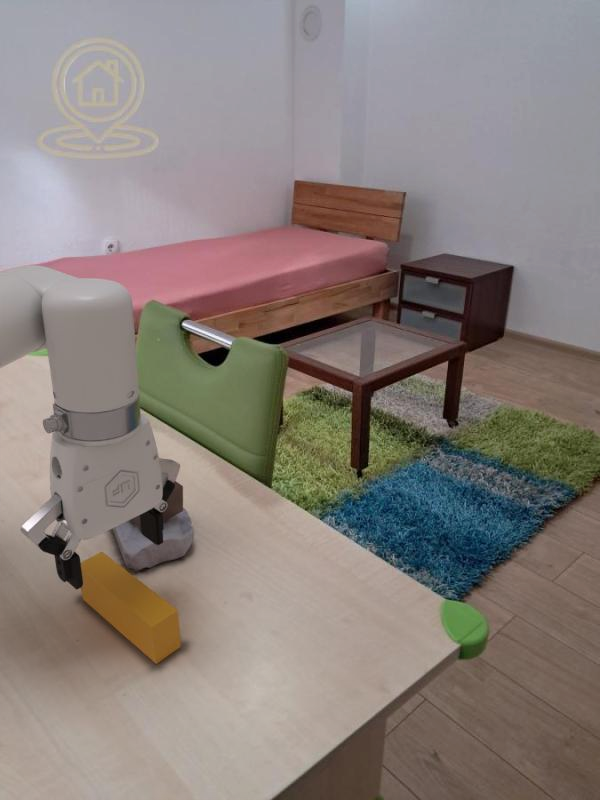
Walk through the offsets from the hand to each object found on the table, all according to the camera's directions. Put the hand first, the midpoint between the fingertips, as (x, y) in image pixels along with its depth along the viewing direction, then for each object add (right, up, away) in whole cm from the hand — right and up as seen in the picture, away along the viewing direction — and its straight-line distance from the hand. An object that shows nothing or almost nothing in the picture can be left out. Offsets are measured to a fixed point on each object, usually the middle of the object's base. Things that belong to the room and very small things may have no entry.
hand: (114, 559), depth 66 cm
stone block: (0, -2, +17) cm, 17 cm away
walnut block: (0, +2, +15) cm, 16 cm away
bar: (+1, -8, +3) cm, 8 cm away
